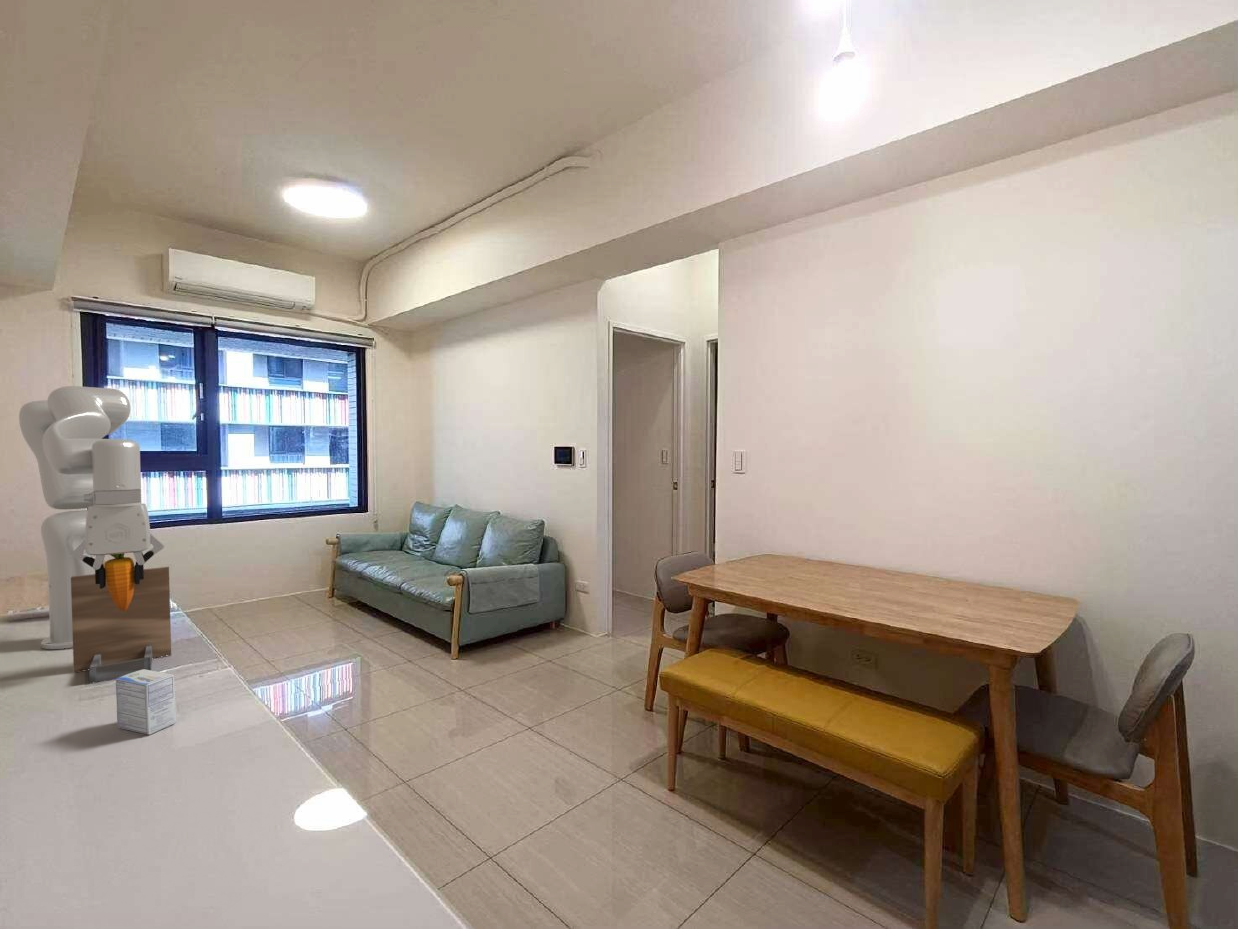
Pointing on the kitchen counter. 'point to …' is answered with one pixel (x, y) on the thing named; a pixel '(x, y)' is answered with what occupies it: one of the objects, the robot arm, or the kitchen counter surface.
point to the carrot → (120, 580)
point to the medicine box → (145, 701)
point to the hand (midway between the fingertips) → (120, 584)
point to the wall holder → (120, 626)
